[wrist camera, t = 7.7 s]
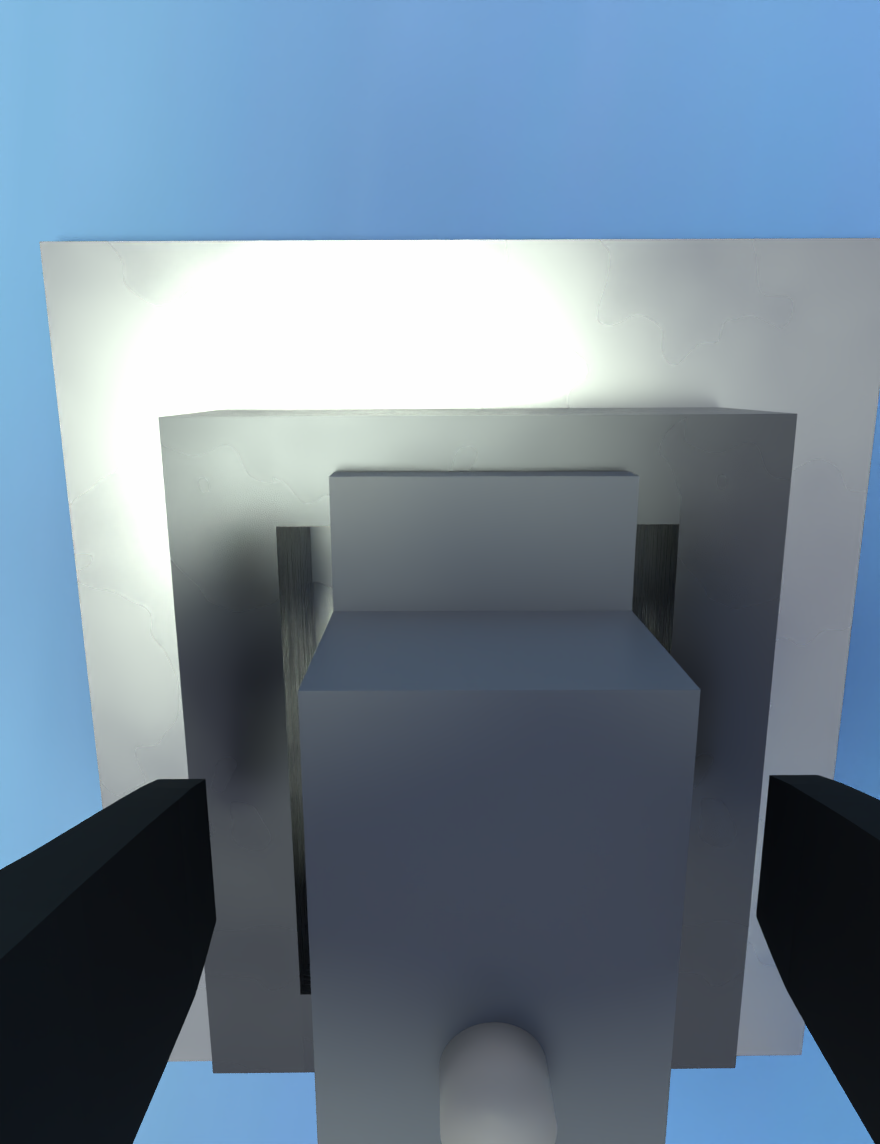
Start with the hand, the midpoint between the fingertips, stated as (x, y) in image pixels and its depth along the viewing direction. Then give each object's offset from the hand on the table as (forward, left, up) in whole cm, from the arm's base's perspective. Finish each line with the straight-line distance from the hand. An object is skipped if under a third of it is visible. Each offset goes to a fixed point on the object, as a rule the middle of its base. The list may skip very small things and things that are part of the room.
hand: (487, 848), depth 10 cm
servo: (0, 0, -5) cm, 5 cm away
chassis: (0, 0, -6) cm, 6 cm away
